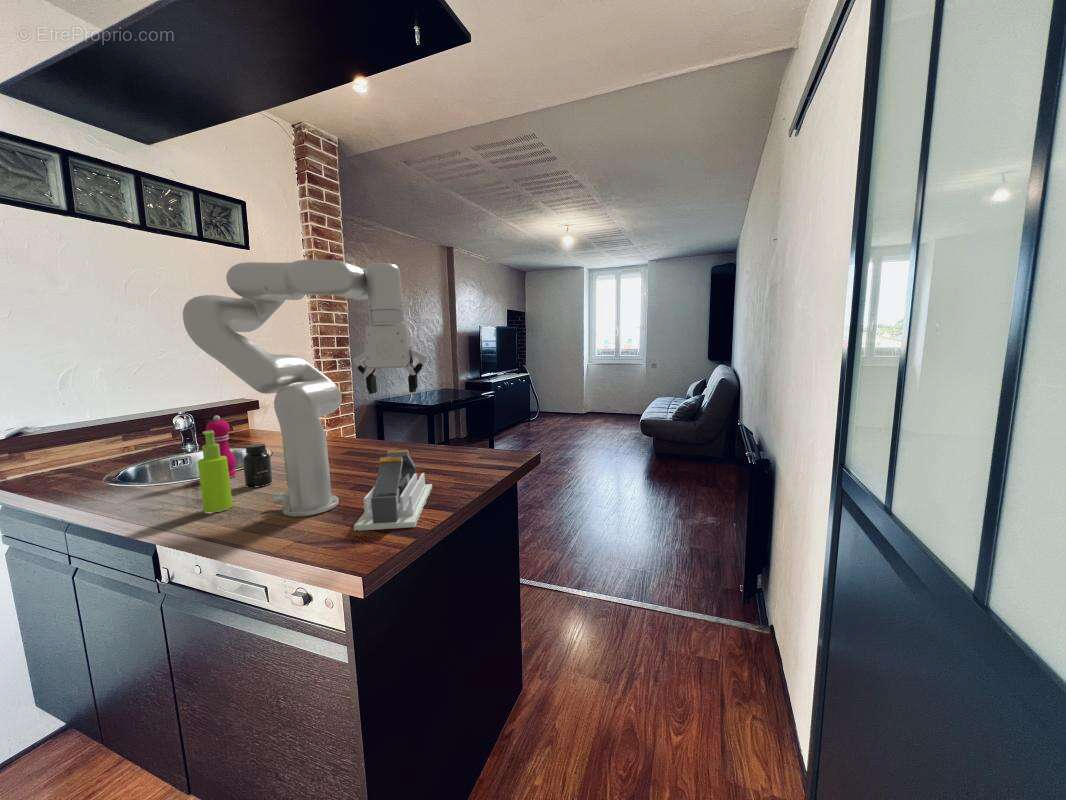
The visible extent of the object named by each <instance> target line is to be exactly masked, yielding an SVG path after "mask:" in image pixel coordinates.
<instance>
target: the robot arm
mask: <svg viewBox="0 0 1066 800" xmlns="http://www.w3.org/2000/svg"><path fill="white" fill-rule="evenodd" d="M401 277H402V276H401V270H400V268H399V267H398V265H396V264H393V263H388V262H373V263H370V264H368V265H367V266H366V267H360V266H357V265H354V264H352V263H348V262H345V261H341V260H336V259H300V260H296V261H292V262H290V261H289V262H265V261H263V262H262V261H261V262H256V261H255V262H249V261H248V262H239V263H236V264H234V265H232V266H231V267H230V268H229V269H228V270H227V273H226V277H225V278H226V283H227V286H228V287H229V288H230V290H231V291H232V292H233V293H234V294H235V295H237V296H240V297H241V298H237V297H233V296H224V295H217V294H215V295H214V294H204V295H197V296H194V297H192V298H190V299H189V300H188V301H187V302H186V303H185V304H184V307H183V309H182V320H183V321H182V322H183V325H184V328H185V331H186V333H187V335H188V336H189V338H190V339H191V340H192V342H193V343H194V344H195V345H196V346H197V347H198V348H199V349H201V350H202V351H203V352H205V353H206V354H208V355H209V356H210V357H212V358H213V359H215V360H216V361H217V362H219V364H222V365H223V366H225V367H226V369H228V370H229V371H230V372H232V373H233V374H234V375H235V376H237V378H239V379H240V380H242V381H243V382H244V383H245V384H247V385H248V386H249V387H250V388H252V389H253V390H255V391H257V392H259V393H261V394H265V395H267V394H268V395H269V394H270V395H271V394H275V396H274V400H273V407H274V412H275V416H276V418H277V421H278V424H279V425H278V426H279V429H280V434H281V441H282V449H283V458H284V467H285V476H286V477H285V478H286V486H287V491H286V492H274V493H273V494H272V502H273V504H277V503H278V504H279V503H280V504H281V503H283V504H284V505H283V506H282V509H281V510H282V514H283V515H285V516H288V517H295V518H296V517H297V518H298V517H308V516H314V515H318V514H322V513H325V512H328V511H331V510H332V509H334V508H336V507H337V506H338V505H339V503H340V500H339V497H338V496H336V495H335V494H332V485H331V476H330V473H331V472H330V464H329V452H328V443H327V442H328V441H327V435H326V431H325V428H324V426H323V424H322V422H321V420H320V418H321V417H324V416H327V415H331V414H333V413H335V412H336V411H338V409H339V408H340V406H341V405H342V401H343V397H342V393H341V390H340V388H339V387H338V386H337V384H336V383H335V382H334V381H332V380H331V379H330V378H329V377H327V376H326V375H325V374H324V373H322V372H321V371H319V369H317V368H316V367H315V366H313V365H312V364H311V363H309V362H308V361H307V360H305V359H303V358H301V357H299V356H298V355H294V354H273V353H269V352H268V351H266V350H265V349H263V348H262V347H260V346H259V345H258V344H256V343H255V342H254V341H253V340H251V339H250V338H247V337H246V336H244V335H243V334H240V333H251V332H253V331H255V330H258V329H260V327H262V325H264V323H266V321H268V320H269V319H270V318H271V316H272V315H273V314H274V313H275V312H276V311H277V310H278V309H279V308H280V307H281V306H282V305H283V304H284V303H285V302H286V301H299V300H302V299H303V298H304V297H305V296H309V295H311V296H314V295H315V296H335V297H342V298H347V299H352V300H356V301H364V300H367V304H368V312H367V314H365V315H363V319H364V321H365V322H368V323H369V325H366V327H365V333H364V335H365V336H364V351H363V352H362V353H361V354H359V355H357V356H355V357H354V358H352V361H353V363H354V365H355V366H356V368H357V370H358V371H359V372H360V373H361V374H362V375H363V377H365V381H366V382H365V383H366V390H367V391H368V394H369V395H372V394H373V395H374V394H376V393H378V388H377V387H378V386H377V377H376V376H375V375H374V374H375V373H376V372H377V370H378V369H379V370H380V369H398V368H402V369H403V368H404V369H405V370H406V371H407V373H408V374H409V375H408V376H407V380H408V381H407V382H408V392H409V393H415V392H417V389H418V387H419V385H418V383H419V381H418V375H419V374H420V372H421V370H422V369H423V368H424V367H425V364H426V361H427V360H428V356H427V355H426V354H424V353H421V352H419V351H417V350H415V349H414V348H413V344H412V340H411V336H410V331H409V328H408V325H407V324H405V319H404V304H403V294H402V293H403V291H402V278H401ZM414 357H415V358H417V359H418V361H417V362H418V363H417V364H416V365H414ZM363 361H364V362H365V363H363ZM364 364H365V365H364Z"/></svg>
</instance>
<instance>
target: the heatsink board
mask: <svg viewBox="0 0 1066 800" xmlns="http://www.w3.org/2000/svg"><path fill="white" fill-rule="evenodd" d="M425 475H426V474H425V472H422V473H421V474H420V476H419V478H418V473H417V465H415V468H413V469H402V470H401V475H400V481H399V486H398V492H397V496H396V495H394V496H376V497H374V496H373V491H374V487H375V485H374V486H373V487H372V488H371V490H370V491H368V493H367V494H366V495H365V497H363V507H364V510H363V511H364V512H363V513H362V514H361V516H360V517H359V518H358V520H357V521H356V522H355V523H354V524H353V531H354V532H356V530H358V531H371V530H372V531H374V530H386V529H387V530H389V529H404V528H416V525H417V523H418V522H417V521H419V519H420V517H421V515H422V513H423V510H424V508H423V507H425V506H424V505H426V503H427V501H428V499H427V498H429V497H428V496H430V495H431V492H432V490H433V483H428V484H427V483H426V478H425V477H426V476H425ZM431 489H432V490H431ZM430 491H431V492H430ZM426 500H427V501H426ZM420 514H421V515H420Z"/></svg>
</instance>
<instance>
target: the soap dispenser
mask: <svg viewBox="0 0 1066 800" xmlns="http://www.w3.org/2000/svg"><path fill="white" fill-rule="evenodd" d="M202 434H203V435H204V437H205V444H203V445H202V447H201V448H202V456H203V458H201V459H199V460H197V468H198V475H199V483H200V490H201V498H202V499H201V500H202V506H203V512H204V511H206V512H215V511H221V510H224V509H227V508H230V507H231V506H232V505H233V504H234V502H233V496H232V488H231V478H229V470H228V462H227V457H226V456H221V455H220V447H219V444H217V443H215V441H214V435H215V432H214V431H213V430H211V431H206V430H205V431H202ZM233 506H234V505H233Z"/></svg>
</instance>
